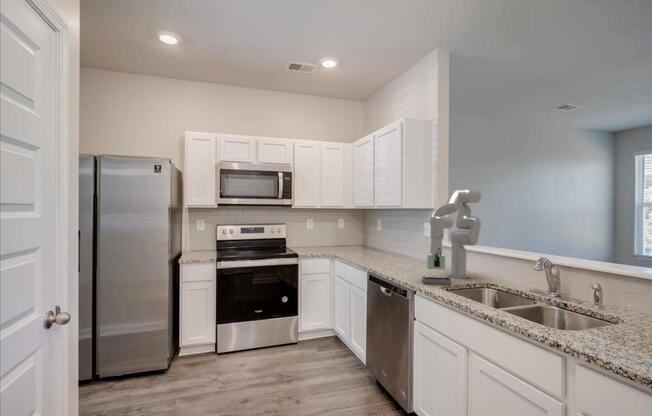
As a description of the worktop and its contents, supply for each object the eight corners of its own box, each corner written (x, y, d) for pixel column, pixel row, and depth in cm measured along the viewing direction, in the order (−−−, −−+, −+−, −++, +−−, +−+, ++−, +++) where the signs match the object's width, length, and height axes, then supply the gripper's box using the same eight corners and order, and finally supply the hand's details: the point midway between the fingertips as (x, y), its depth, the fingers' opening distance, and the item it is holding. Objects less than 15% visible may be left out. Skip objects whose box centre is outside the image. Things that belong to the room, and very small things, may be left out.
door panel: (427, 267, 204) (427, 255, 204) (443, 268, 203) (443, 255, 203) (428, 268, 201) (428, 255, 201) (444, 269, 200) (445, 256, 200)
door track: (421, 281, 207) (422, 275, 207) (447, 282, 206) (447, 276, 206) (424, 284, 200) (424, 277, 200) (451, 285, 199) (451, 278, 199)
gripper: (427, 235, 211) (426, 263, 211) (434, 237, 194) (433, 268, 194) (439, 235, 210) (438, 264, 210) (447, 238, 194) (446, 268, 194)
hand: (436, 266), depth 202 cm, fingers closed on door panel, 3 cm apart
